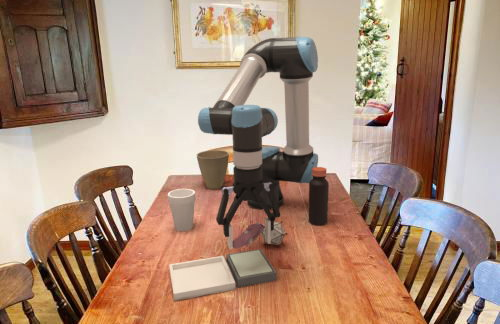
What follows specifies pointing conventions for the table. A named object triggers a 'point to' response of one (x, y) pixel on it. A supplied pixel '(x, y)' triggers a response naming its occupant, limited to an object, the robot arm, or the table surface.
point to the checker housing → (255, 278)
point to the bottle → (318, 197)
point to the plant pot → (213, 167)
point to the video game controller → (248, 235)
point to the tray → (200, 277)
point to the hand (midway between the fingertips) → (249, 244)
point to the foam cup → (182, 208)
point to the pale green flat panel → (250, 263)
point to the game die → (276, 234)
